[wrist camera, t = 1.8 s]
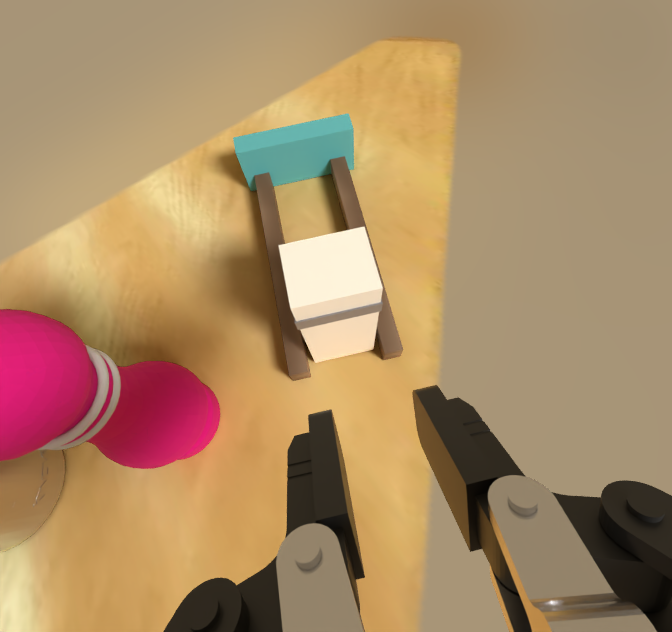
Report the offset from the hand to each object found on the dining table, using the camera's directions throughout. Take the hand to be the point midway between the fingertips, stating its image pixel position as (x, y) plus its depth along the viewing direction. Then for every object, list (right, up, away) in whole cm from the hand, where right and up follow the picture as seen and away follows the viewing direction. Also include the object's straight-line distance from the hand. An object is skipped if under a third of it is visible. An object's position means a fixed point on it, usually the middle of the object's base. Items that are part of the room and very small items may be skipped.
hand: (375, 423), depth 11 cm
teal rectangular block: (-5, +18, +27) cm, 33 cm away
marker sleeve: (-1, +2, +20) cm, 20 cm away
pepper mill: (-14, -5, +18) cm, 23 cm away
